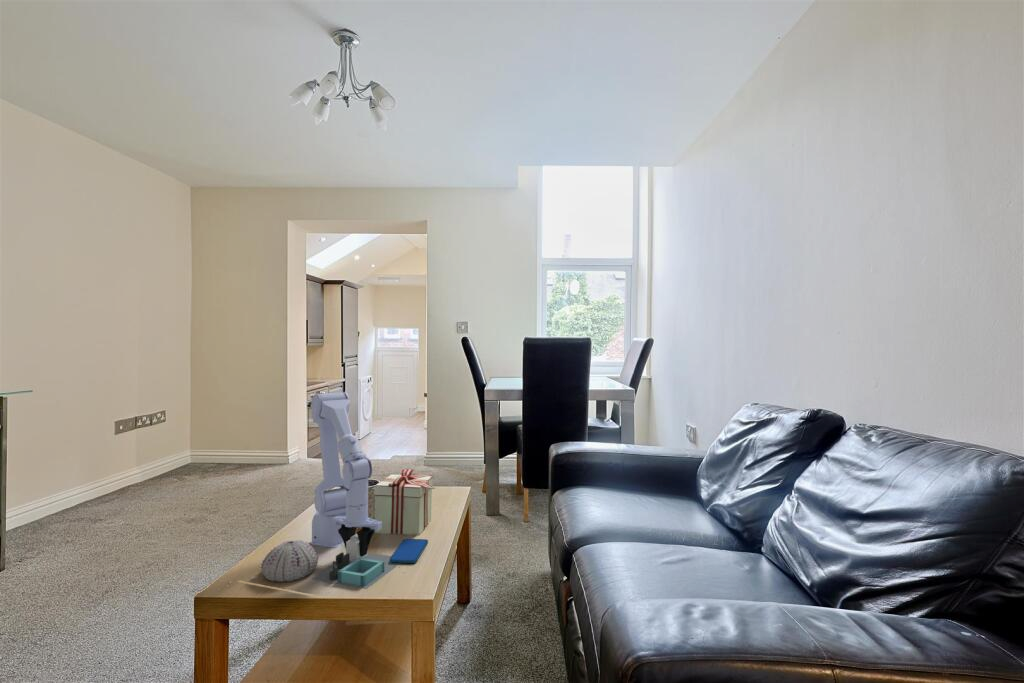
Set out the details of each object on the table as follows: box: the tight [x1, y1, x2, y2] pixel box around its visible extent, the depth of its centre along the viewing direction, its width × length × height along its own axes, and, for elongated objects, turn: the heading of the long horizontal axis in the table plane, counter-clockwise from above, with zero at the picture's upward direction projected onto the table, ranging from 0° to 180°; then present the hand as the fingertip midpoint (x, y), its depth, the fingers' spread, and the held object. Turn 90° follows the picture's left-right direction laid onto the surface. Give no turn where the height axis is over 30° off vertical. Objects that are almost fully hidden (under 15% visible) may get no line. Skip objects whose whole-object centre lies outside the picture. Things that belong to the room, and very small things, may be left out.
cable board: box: [311, 552, 401, 590], centre depth 128 cm, size 16×18×4 cm
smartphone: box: [390, 538, 429, 564], centre depth 138 cm, size 7×1×15 cm
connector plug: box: [345, 533, 367, 562], centre depth 135 cm, size 4×4×6 cm
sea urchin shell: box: [260, 539, 319, 583], centre depth 126 cm, size 13×14×8 cm
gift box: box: [373, 469, 436, 536], centre depth 160 cm, size 17×18×17 cm
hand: (356, 553), depth 135 cm, fingers open, 4 cm apart
